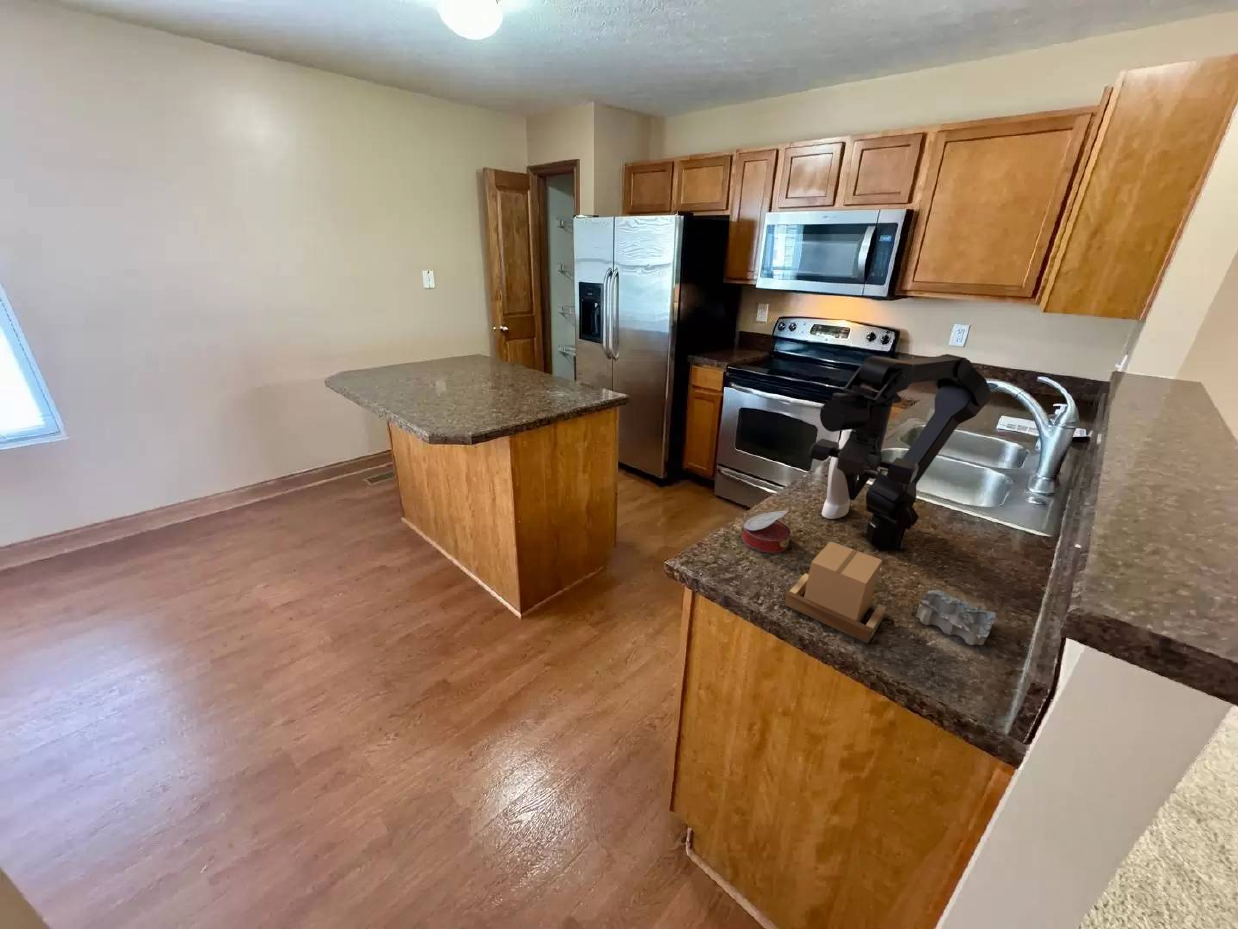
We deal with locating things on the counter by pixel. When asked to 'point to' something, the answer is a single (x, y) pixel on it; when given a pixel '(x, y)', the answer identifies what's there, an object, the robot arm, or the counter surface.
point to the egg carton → (955, 616)
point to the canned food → (767, 532)
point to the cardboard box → (843, 580)
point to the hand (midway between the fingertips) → (852, 499)
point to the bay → (832, 613)
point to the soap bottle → (837, 487)
